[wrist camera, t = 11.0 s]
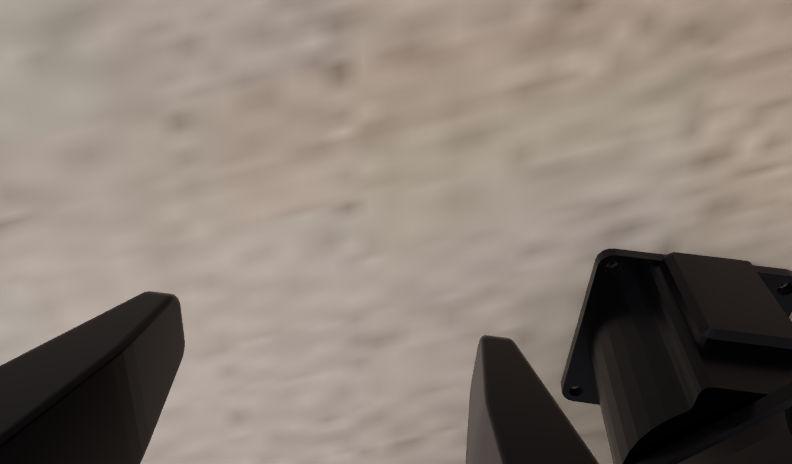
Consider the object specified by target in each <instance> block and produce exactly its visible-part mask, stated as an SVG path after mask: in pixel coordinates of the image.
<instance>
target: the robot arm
mask: <svg viewBox="0 0 792 464" xmlns="http://www.w3.org/2000/svg"><path fill="white" fill-rule="evenodd" d="M614 261H615V262H618V264H617V266H615V267H613V268H607V267H605V266H606V264H608V263H609V262H614ZM783 283H788V285H787V286H786V287H784V288H779V289H777V288H778V287H779V286H780V285H781V284H783ZM791 312H792V271H790V270H786V269H778V268H770V267H762V266H753V265H752V264H751V263H750V262H748V261H742V260H734V259H726V258H717V257H709V256H701V255H692V254H684V253H676V252H673V253H670V254H667V255H662V254H654V253H645V252H637V251H629V250H621V249H607V250H604V251H602V252H601V253H600V254H598V256H597V258H596V259H595V263H594V266H593V270H592V274H591V277H590V281H589V284H588V288H587V291H586V295H585V298H584V302H583V306H582V309H581V313H580V316H579V320H578V323H577V327H576V331H575V334H574V338H573V341H572V345H571V348H570V352H569V356H568V359H567V363H566V366H565V370H564V373H563V377H562V381H561V388H562V394H563V395H564V397H565V398H567V399H568V400H571V401H577V402H584V403H592V404H599V405H600V406H601V410H602V415H603V419H604V423H605V428H606V432H607V436H608V441H609V445H610V449H611V454H612V458H613V462H614V464H792V322H791V321H790V319H789V316H790V314H791ZM184 347H185V340H184V331H183V323H182V315H181V307H180V302H179V300H178V298H177V297H176V296H175V295H173V294H167V293H160V292H151V291H148V292H144V293H142V294H140V295H138V296H136V297H134V298H132V299H130V300H128V301H126V302H124V303H122V304H120V305H118V306H116V307H114V308H112V309H111V310H109V311H107V312H105V313H103V314H101V315H99V316H97V317H95V318H93V319H91V320H89V321H87V322H85V323H83V324H81V325H79V326H77V327H75V328H73V329H71V330H69V331H67V332H65V333H64V334H62V335H60V336H58V337H56V338H54V339H52V340H50V341H48V342H46V343H44V344H42V345H40V346H38V347H36V348H34V349H32V350H30V351H28V352H26V353H24V354H22V355H20V356H19V357H17V358H15V359H13V360H11V361H9V362H7V363H5V364H3V365H1V366H0V464H140V463H141V460H142V458H143V456H144V454H145V452H146V449H147V447H148V444H149V442H150V440H151V437H152V435H153V432H154V429H155V427H156V424H157V422H158V419H159V417H160V414H161V411H162V409H163V406H164V404H165V401H166V399H167V396H168V394H169V391H170V388H171V386H172V383H173V381H174V378H175V376H176V373H177V371H178V368H179V365H180V363H181V360H182V357H183V353H184ZM573 386H579V388H576V389H572V388H571V387H573ZM466 464H599V463H598V462H597V460H596V459H595V457H594V456H593V454H592V453H591V452H590V450H589V449H588V447H587V446H586V444H585V443H584V442H583V440H582V439H581V437H580V436H579V434H578V433H577V431H576V430H575V429H574V427H573V426H572V424H571V423H570V421H569V420H568V419H567V417H566V416H565V414H564V413H563V411H562V410H561V409H560V407H559V406H558V404H557V403H556V401H555V400H554V398H553V397H552V396H551V394H550V393H549V391H548V390H547V388H546V387H545V386H544V384H543V383H542V381H541V380H540V378H539V377H538V376H537V374H536V373H535V371H534V370H533V368H532V367H531V365H530V364H529V363H528V361H527V360H526V358H525V357H524V355H523V354H522V353H521V351H520V350H519V348H518V347H517V345H516V344H515V343H514V341H512V340H511V339H509V338H503V337H495V336H488V335H484V336H482V337H481V338H480V341H479V344H478V349H477V355H476V360H475V366H474V371H473V377H472V382H471V390H470V401H469V418H468V434H467V451H466Z"/></svg>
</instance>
